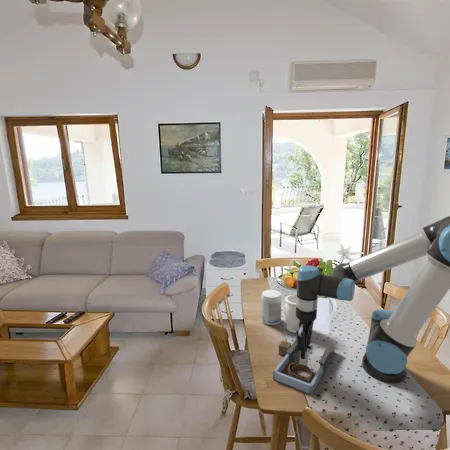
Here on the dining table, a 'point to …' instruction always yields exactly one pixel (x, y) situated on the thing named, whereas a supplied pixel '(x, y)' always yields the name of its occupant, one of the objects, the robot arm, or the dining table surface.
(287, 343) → the brown wooden cube
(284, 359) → the tray
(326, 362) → the slot rail
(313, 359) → the dining table surface
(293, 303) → the jar
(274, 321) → the supplement tub
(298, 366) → the bracelet
